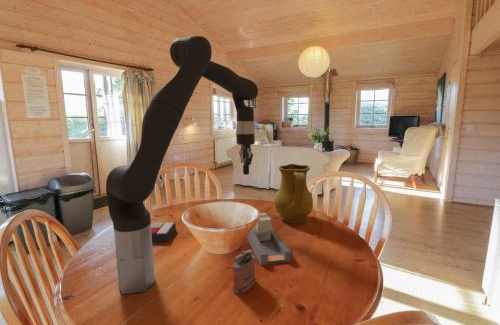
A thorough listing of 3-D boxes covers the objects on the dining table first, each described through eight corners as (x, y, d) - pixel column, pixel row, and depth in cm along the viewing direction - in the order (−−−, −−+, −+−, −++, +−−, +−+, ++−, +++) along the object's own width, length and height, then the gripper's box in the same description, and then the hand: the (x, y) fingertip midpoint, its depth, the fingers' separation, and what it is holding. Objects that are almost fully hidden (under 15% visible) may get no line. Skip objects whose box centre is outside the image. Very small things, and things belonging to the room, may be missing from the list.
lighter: (249, 277, 78) (248, 244, 77) (258, 281, 76) (258, 248, 75) (229, 290, 72) (229, 256, 71) (239, 296, 70) (238, 260, 68)
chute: (290, 261, 87) (291, 251, 86) (260, 265, 84) (260, 255, 84) (266, 227, 113) (266, 219, 113) (243, 229, 111) (243, 221, 111)
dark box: (138, 222, 111) (175, 220, 110) (140, 232, 111) (176, 230, 111) (126, 234, 100) (167, 232, 100) (128, 245, 100) (168, 243, 100)
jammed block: (271, 240, 99) (271, 219, 97) (257, 241, 98) (257, 220, 96) (265, 232, 105) (265, 212, 104) (253, 233, 104) (253, 213, 103)
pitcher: (316, 213, 127) (316, 162, 122) (307, 230, 111) (306, 171, 106) (281, 209, 135) (280, 160, 130) (268, 225, 118) (266, 169, 113)
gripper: (259, 133, 105) (259, 176, 108) (249, 132, 118) (250, 171, 120) (240, 133, 103) (241, 178, 106) (232, 132, 116) (233, 172, 118)
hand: (246, 174), depth 113 cm, fingers closed
